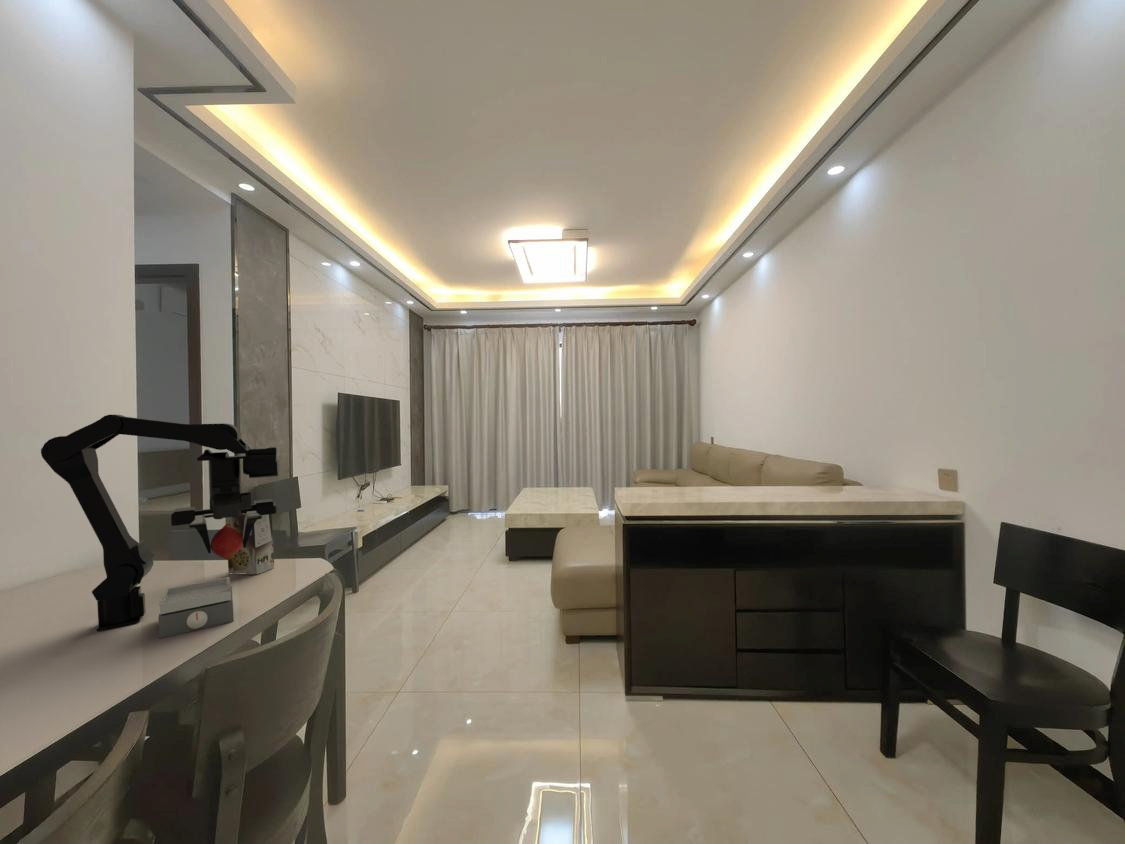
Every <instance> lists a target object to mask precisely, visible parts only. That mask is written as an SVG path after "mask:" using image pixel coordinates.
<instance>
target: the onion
mask: <svg viewBox="0 0 1125 844" xmlns="http://www.w3.org/2000/svg"><path fill="white" fill-rule="evenodd" d="M210 545H211V552H212V553H213V554H214V555H216V556H218V557H220V558H222V559H224V560H228V559H231V558H232V557H233V556H234V555H235V554H236V553H237V552H238V551H239V550H240V549H241V547H242V545H243V538H242V535H241V534H240V532H238V531H237V530H236V529H234V528H232V527H231V524H230V523H227V524H226V523H225V524H224V526H222V527H221V528H220V529H219V530H218V531H217V532H215V534H214V535H213V537H212V538H211V540H210Z"/></svg>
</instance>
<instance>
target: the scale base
mask: <svg viewBox="0 0 1125 844" xmlns="http://www.w3.org/2000/svg"><path fill="white" fill-rule="evenodd" d="M230 588H231V600H228V601H223V602H218V603H213V604H209V605H204V606H199V607H194V608H189V609H185V610H180V611H175V612H170V613H165V614H161V615H160V612H159V614H158V617H157V622H158V638H159V639H162V638H167V637H171V636H176V635H180V634H185V633H188V632H194V631H198V630H202V629H206V628H210V627H211V628H212V627H214V626H219V625H220V626H221V625H223V624H224V625H225V624H228V623H232V622H234V618H235V617H234V601H233V587H232V585H230Z"/></svg>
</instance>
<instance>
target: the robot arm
mask: <svg viewBox="0 0 1125 844" xmlns="http://www.w3.org/2000/svg"><path fill="white" fill-rule="evenodd" d="M119 435H123V436H125V435H126V436H136V437H143V438H144V437H145V438H154V439H155V438H156V439H162V440H163V439H164V440H174V441H181V442H188V443H192V444H195V445H199V446H202V447H205V448H209V449H205V450H204V452H203V453H202V454H201V455H200V456H198V457H197V458H196V461H198V462H205V461H206V462H207V461H208V487H209V489H208V490H209V491H208V492H209V508H208V509H207V508H206V509H198V510H197V509H196V507H195V506H189V507H181V508H180V507H179V508H175V509H174V510H172V511H171V514H170V517H171V519H170V520H171V521H170V523H171V526H172V527H173V526H174V527H175V526H182V525H184V526H185V525H188V528H189V529H190V528H191V529H193V528H194V529H195V530H196V531H197V532H198V534H199V536H200V538H201V539H202V542H203V544H204V546H205V548H206V550H207V553H208V554H211V553H212V550H211V540H210V536H209V535H210V534H209V530H208V526H207V520H206V519H207V518H208V519H209V518H213V519H214V520H223V519H225V518H228V517H233V518H235V517H239V516H240V515H241V514H244V513H246V514H247V515H245V521H244V531H243V548H245V547H246V544H247V541H248V538H249V535H250V532H251V530H252V528H253V526H254V524H255V522H256V521H257V520H258V519H262V515H268V514H272V515H274V514H277V504H276V502H275V501H274V500H273V499H271V498H266V499H258V500H253V504H252V492H250V491H249V492H242V486H241V485H242V482H241V460H242V473H243V475H246V476H247V475H248V478H249V479H260V478H273V477H279V472H280V471H279V470H280V468H279V465H280V464H279V459H278V448H277V447H276V446H270V447H266V448H251V447H250V446H249V444H247V443H246V442H245V441H244V440H243V439H242V437H241V432H240V430H239V428H238V427H237V426H236V425H234V424H232V423H226V422H225V423H192V424H191V423H185V422H184V423H182V422H173V421H168V420H167V421H165V420H164V421H163V420H156V419H147V418H139V417H133V416H132V417H131V416H124V415H123V414H107V415H103V416H102V417H101V418H99V419H98V420H96V421H94V422H93V423H90V424H88V425H85V426H84V427H83V426H82V427H81V428H79V429H76V430H74V431H73V432H71V433H69V434H67V435H60V436H55V437H53V438H50V439H48V440H47V441H45V442H44V444H43V445H42V447H41V448H40V455H41V457H42V459H43V460H44V462H45V463H46V464H47V465H48V466H49V467H50V469H51V470H52V471H53V472H54V473H55V474H56V475H58V476H59V477H60V478H61V479H63V480H64V481H65V482H67V484H68V485H69V487H70V488H71V490H72V492H73V494H74V495H75V497H76V499H77V501H78V503H79V505H80V507H81V509H82V510H83V512H84V515H85V516H86V518H87V521H88V522H89V524H90V526H91V528H92V530H93V531H94V533H95V535H96V537H97V539H98V542H99V543H100V545H101V547H102V552H103V553H102V556H103V557H102V558H103V567H104V571H105V575H106V577H105V579H104V580H102V582H100V583H99V584H98V585H97V586H96V587H95V588H93V590H92V591H91V594H92V596H93V597H94V598H95V600H96V601H97V604H96V605H97V620H98V621H97V622H98V625H97V626H96V628H95V630H96V631H97V632H98V631H103V630H108V629H109V630H110V629H114V628H118V627H122V626H128V625H132V624H136V623H139V622H141V620H142V618H143V617H144V615H145V613H147V612H146V611H147V610H146V593H144V592H142V589H141V585H140V584H141V583H142V580H143V578H144V577H145V576H147V575H148V574H149V573H150V572H151V570H152V568H153V566H154V559H153V558H155V557H156V554H155V553H153V551H152V550H151V549H150V546H149V543H148V541H147V539H144V540H141V541H140V542H138V541H137V540H135V538H133V537H132V536H131V535H130V533H129V531H128V529H127V527H126V525H125V523H124V522H123V519H122V518H121V515H120V514H119V511H118V510H117V508H116V505H115V504H114V502H113V500H112V498H111V496H110V494H109V492H108V490H107V489H106V486H105V485H104V483H103V480H102V479H101V477H100V474H99V459H98V458H99V457H98V454H97V451H96V450H97V449H99V448H101V447H103V446H105V445H106V444H107V443H109V442H111V440H114V439H115V438H116V437H117V436H119ZM210 449H214V450H217V451H219V452H216V451H215V452H212V451H211V450H210ZM223 450H227V451H223ZM220 451H221V452H220ZM229 452H231V453H233V454H234V455H230V454H229ZM239 454H241V455H239ZM243 454H245V455H243ZM138 585H139V586H138Z"/></svg>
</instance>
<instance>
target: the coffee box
mask: <svg viewBox="0 0 1125 844" xmlns="http://www.w3.org/2000/svg"><path fill="white" fill-rule="evenodd" d="M245 515H247V514H246V513H244V514H241V515H240V516H239V517H235V518H233V517H228V518H224V519H225V520H224V521H225V525H226V524H227V523H230V524H231V527H232V528H234V529H236V530H237V531H238V532H240V534H241V535H242V538H243V531H244V521H245ZM273 533H274V531H273V514H268V515H262V519H258V520H257V521H256V522H255V524H254V526H253V528H252V530H251V532H250V535H249V538H248V541H247V544H246V547H245V548H243V545H242V547H241V549H240V550H239V551H238V552H237V553H236V554H235V555H234V556H233V557H232V558H231V559H227V568H228V574H229V573H246V574H245V575H255V574H257V575H260V574H262V573H264V572H267V571H269V570H272V569H275V554H274V552H275V551H274V550H275V549H274V534H273ZM259 573H260V574H259Z"/></svg>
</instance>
